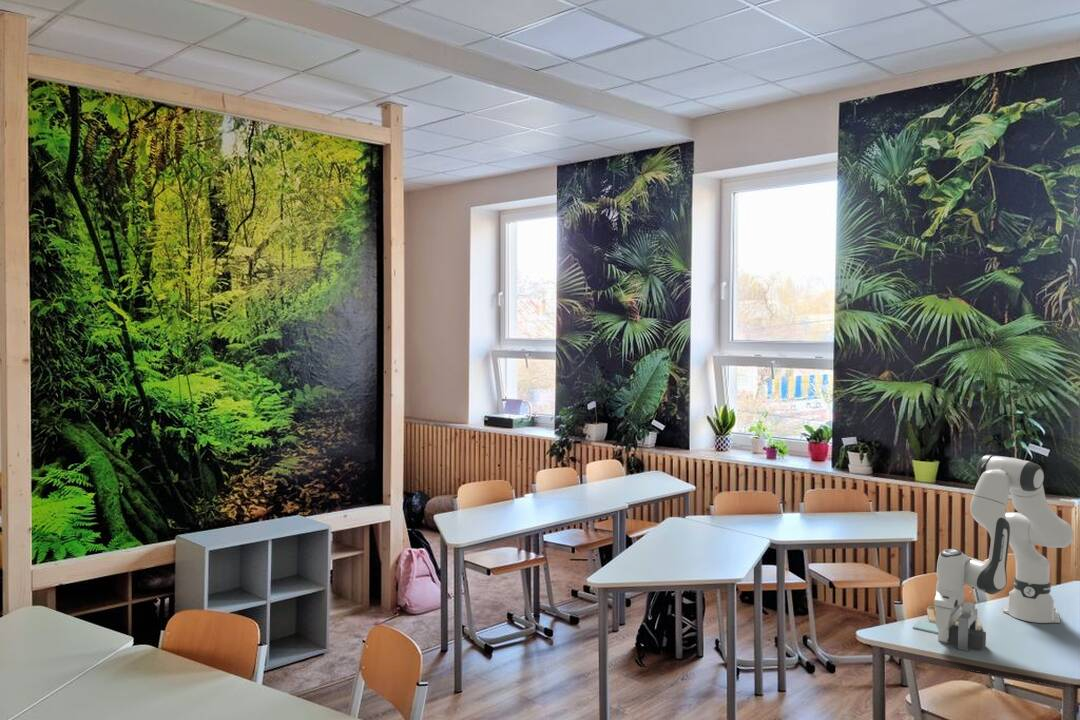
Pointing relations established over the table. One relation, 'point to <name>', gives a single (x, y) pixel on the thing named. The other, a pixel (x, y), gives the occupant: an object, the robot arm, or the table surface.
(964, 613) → the housing
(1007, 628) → the table surface
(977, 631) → the plug
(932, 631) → the mat
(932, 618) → the wooden puzzle
